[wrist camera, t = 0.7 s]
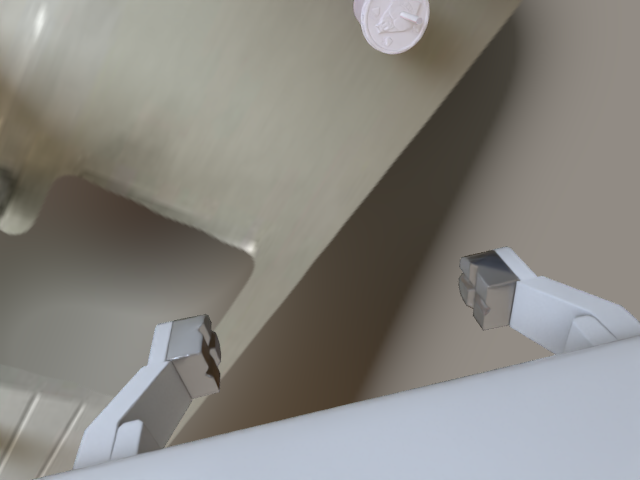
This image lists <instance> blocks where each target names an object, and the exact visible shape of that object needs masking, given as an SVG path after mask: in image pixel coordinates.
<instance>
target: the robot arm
mask: <svg viewBox="0 0 640 480" xmlns="http://www.w3.org/2000/svg"><path fill="white" fill-rule="evenodd" d="M459 267H460V269H461V270H462V271H463V273H462V274H461V276H460V277H459V290H460V294H461V296H462V299H463V301H464V302H465V304H466V306H468V307H470V308H472V309H473V316H474V318H475V319H476V321H477V322H478V324H479V325H480V327H481V328H482V330H489V329H493V328H498V327H503V326H507V325H509V326H510V327H511V328H513V329H515V330H516V331H518V332H519V333H521V334H523V335H524V336H526V337H528V338H529V339H531V340H532V341H534V342H536V343H537V344H539V345H541V346H542V347H544V348H546V349H547V350H549V351H550V352H552V353H554V354H555V355H553V356H549V357H545V358H541V359H537V360H532V361H528V362H524V363H520V364H516V365H511V366H507V367H503V368H499V369H494V370H490V371H487V372H483V373H478V374H474V375H469V376H465V377H461V378H457V379H452V380H448V381H444V382H440V383H435V384H431V385H427V386H423V387H419V388H414V389H410V390H406V391H402V392H398V393H393V394H389V395H385V396H381V397H377V398H372V399H368V400H364V401H360V402H356V403H351V404H347V405H343V406H339V407H335V408H330V409H326V410H322V411H318V412H314V413H309V414H305V415H301V416H297V417H293V418H288V419H284V420H280V421H276V422H272V423H267V424H263V425H259V426H255V427H251V428H246V429H242V430H238V431H234V432H230V433H225V434H222V435H217V436H213V437H209V438H204V439H200V440H196V441H192V442H188V443H184V444H179V445H175V446H171V447H167V448H164V447H165V445H166V443H167V442H168V440H169V438H170V437H171V435H172V434H173V432H174V430H175V429H176V427H177V425H178V424H179V422H180V420H181V419H182V417H183V415H184V414H185V412H186V410H187V409H188V407H189V405H190V404H191V402H192V399H194V398H198V397H202V396H206V395H210V394H213V393H217V392H220V372H219V369H218V367H217V366H218V365H219V364H220V362H221V351H220V344H219V340H218V337H217V335H216V332H214V331H212V330H211V321H210V319H209V316H208V315H206V314H204V315H199V316H194V317H189V318H184V319H179V320H174V321H170V322H165V323H160V324H158V325H157V326H156V328H155V332H154V337H153V341H152V346H151V350H150V355H149V360H148V365H147V366H144V367H142V368H141V369H140V370H139V371H138V373H136V374H135V376H134V377H133V378H132V379H131V380H130V381H129V382H128V383H127V384H126V386H125V387H124V388H123V389H122V390H121V391H120V392H119V393H118V394H117V395H116V397H115V398H114V399H113V400H112V401H111V402H110V403H109V404H108V405H107V407H106V408H105V409H104V410H103V411H102V412H101V413H100V414H99V415H98V416H97V418H96V419H95V420H94V421H93V422H92V423H91V424H90V425H89V426H88V428H87V429H86V430H85V431H84V435H83V438H82V441H81V444H80V447H79V450H78V453H77V456H76V460H75V463H74V466H73V469H72V470H70V471H66V472H62V473H57V474H53V475H49V476H45V477H41V478H36V479H32V480H640V322H639V321H638V320H637V319H636V318H635V317H634V316H633V315H631V314H630V313H629V312H628V311H627V310H626V309H625V308H624V307H623V306H621V305H619V304H616V303H613V302H611V301H608V300H605V299H603V298H600V297H597V296H595V295H592V294H590V293H587V292H584V291H581V290H579V289H576V288H573V287H571V286H568V285H565V284H563V283H560V282H558V281H555V280H552V279H550V278H547V277H544V276H539V277H538V276H537V275H536V274H535V273H534V272H533V271H532V270H531V269H530V268H529V267H528V266H527V265H526V264H525V263H524V262H523V261H522V259H521V258H519V256H518V255H517V254H516V253H515V252H514V251H513V250H512V249H511V248H510V247H507V246H506V247H502V248H497V249H494V250H491V251H486V252H481V253H477V254H473V255H469V256H464V257H461V259H460V266H459Z"/></svg>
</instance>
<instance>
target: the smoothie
mask: <svg viewBox="0 0 640 480" xmlns="http://www.w3.org/2000/svg"><path fill="white" fill-rule="evenodd" d="M353 10H354V14H355V17H356V18H357V20H358V21H359V23H360V25H361V28H362V31H363V35H364V37H365V38H366V40H367V42H368V43H369V44H370V45H371V46H372V47H373V48H374V49H376V50H378V51H380V52H383V53H386V54H399V53H402V52H405V51H407V50H409V49H410V48H412V47H413V46H414V45H415V44H416V43H417V42H418V41H419V40H420V39H421V37H422V36H423V34H424V32H425V30H426V28H427V25H428V21H429V14H430V8H429V1H428V0H354V4H353Z"/></svg>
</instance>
